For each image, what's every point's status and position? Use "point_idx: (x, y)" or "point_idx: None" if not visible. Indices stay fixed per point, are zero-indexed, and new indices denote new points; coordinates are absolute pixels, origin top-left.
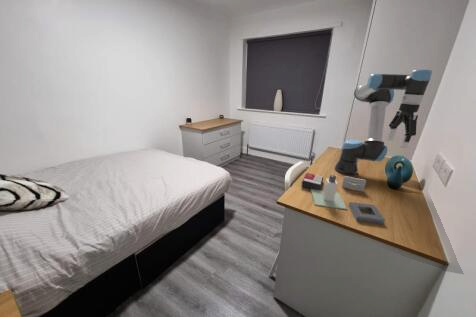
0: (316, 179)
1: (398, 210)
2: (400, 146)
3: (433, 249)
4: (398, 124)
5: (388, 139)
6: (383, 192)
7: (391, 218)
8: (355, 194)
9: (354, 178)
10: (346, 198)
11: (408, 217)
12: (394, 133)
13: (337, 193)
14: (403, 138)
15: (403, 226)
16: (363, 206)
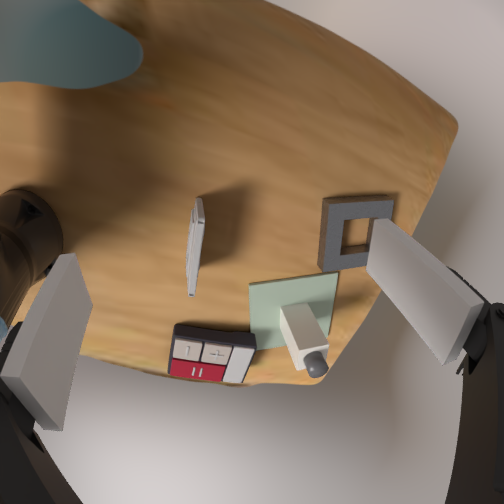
0: (219, 357)
1: (313, 113)
2: (375, 274)
3: (444, 125)
4: (61, 501)
5: (88, 302)
6: (180, 113)
7: (360, 160)
8: (237, 231)
9: (198, 263)
10: (275, 264)
11: (346, 102)
12: (48, 326)
13: (257, 289)
14: (425, 332)
15: (388, 144)
16: (341, 239)
